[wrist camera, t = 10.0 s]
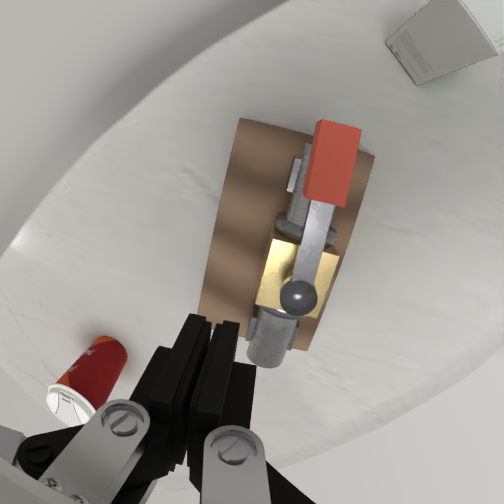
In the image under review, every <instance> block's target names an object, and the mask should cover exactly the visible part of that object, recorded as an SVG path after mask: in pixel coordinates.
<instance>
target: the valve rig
mask: <svg viewBox="0 0 504 504" xmlns="http://www.w3.org/2000/svg"><path fill="white" fill-rule="evenodd" d="M313 138H314V136H311V135H307V134H304V133H300V132H296V131H293V130H289V129H285V128H281V127H277V126H273V125H269V124H265V123H260V122H256V121H252V120H247V119H243V118H240V119H239V123H238V127H237V131H236V135H235V139H234V143H233V147H232V152H231V156H230V160H229V164H228V169H227V173H226V177H225V182H224V186H223V191H222V195H221V200H220V204H219V209H218V214H217V218H216V223H215V228H214V232H213V237H212V242H211V247H210V252H209V257H208V262H207V267H206V272H205V277H204V282H203V287H202V293H201V298H200V303H199V309H198V314H197V315H201V316H206V319H207V320H206V321H209V322H212V328H211V329H213V330H214V329H215V326H216V323H219V324H223V321H224V320H227V321H232V322H238V323H240V328H239V334H238V336H241V337H245V338H246V339H245V340H247V341H250V343H249V346H248V349H247V356H248V358H249V360H250V361H251V362H253V363H254V364H256V365H258V366H260V367H263V368H275V367H278V366H279V365H280V364H281V363H282V361H283V358H284V356H285V353H286V350H291V349H292V348H294V349H298V350H303V351H307V350H308V348H309V346H310V343H311V341H312V338H313V336H314V334H315V331H316V329H317V326H318V324H319V321H320V319H321V316H322V314H323V311H324V309H325V306H326V303H327V301H328V298H329V296H330V293H331V290H332V288H333V285H334V282H335V279H336V277H337V274H338V271H339V268H340V266H341V263H342V260H343V257H344V254H345V251H346V248H347V246H348V243H349V240H350V237H351V234H352V231H353V228H354V224H355V221H356V218H357V215H358V212H359V209H360V206H361V202H362V199H363V196H364V192H365V189H366V186H367V182H368V179H369V175H370V172H371V168H372V165H373V161H374V157H375V156H374V155H371V154H368V153H365V152H362V151H359V150H357V155H356V159H355V164H354V169H353V173H352V178H351V182H350V186H349V191H348V195H347V199H346V203H345V207H341V206H336V205H334V209H333V213H332V217H331V221H330V225H329V229H328V233H327V237H326V241H325V245H324V248H323V252H322V256H321V260H320V263H319V267H318V271H317V274H316V278H315V282H314V284H315V288H316V292H317V296H318V301H317V305H316V307H315V308H314V309H313V310H312V311H311V312H310V313H308V314H306V315H303V316H293V315H290V314H288V313H286V312H285V311H284V310H283V309H282V307H281V305H280V287H281V284H282V283H283V281H284V280H285V279H287V278H288V277H290V276H292V272H293V268H294V264H295V260H296V255H297V251H298V247H299V243H300V239H301V234H302V230H303V226H304V221H305V217H306V213H307V208H308V204H309V199H306V198H305V196H304V195H303V193H302V191H303V186H304V182H305V177H306V172H307V167H308V163H309V158H310V153H311V148H312V143H313Z"/></svg>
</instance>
